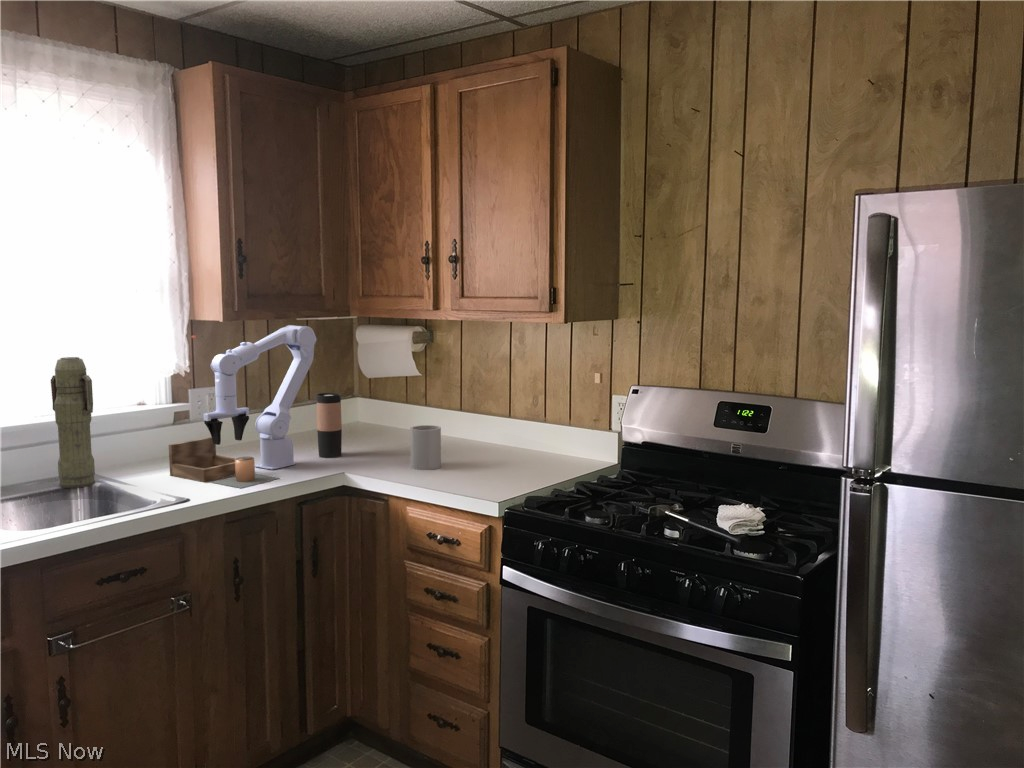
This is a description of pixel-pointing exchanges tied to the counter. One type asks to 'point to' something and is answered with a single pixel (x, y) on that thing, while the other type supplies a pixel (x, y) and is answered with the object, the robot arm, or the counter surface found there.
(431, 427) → the cup
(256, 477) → the slate mat
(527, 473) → the counter surface
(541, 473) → the counter surface
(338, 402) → the travel mug
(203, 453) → the potting tray
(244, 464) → the peach orange cylinder
